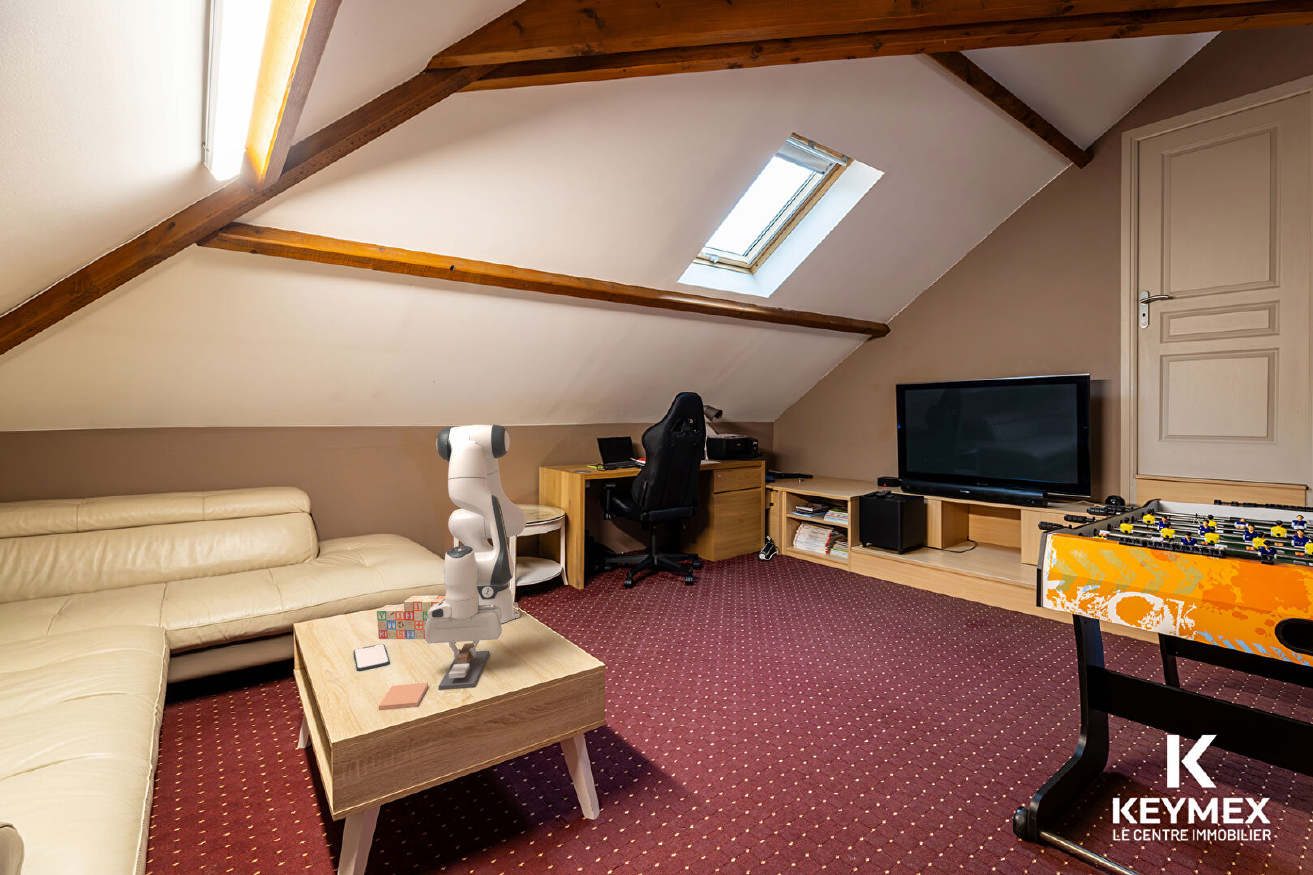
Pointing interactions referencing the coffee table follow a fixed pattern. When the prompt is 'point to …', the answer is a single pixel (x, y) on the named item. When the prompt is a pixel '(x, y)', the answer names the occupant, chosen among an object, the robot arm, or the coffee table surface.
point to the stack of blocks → (406, 618)
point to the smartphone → (371, 657)
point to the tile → (403, 696)
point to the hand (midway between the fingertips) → (465, 655)
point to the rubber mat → (471, 676)
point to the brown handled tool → (462, 662)
